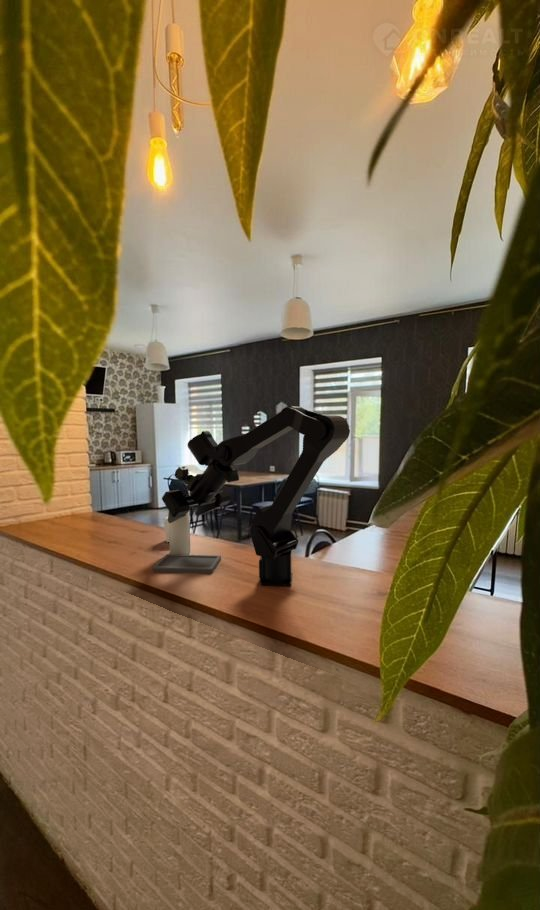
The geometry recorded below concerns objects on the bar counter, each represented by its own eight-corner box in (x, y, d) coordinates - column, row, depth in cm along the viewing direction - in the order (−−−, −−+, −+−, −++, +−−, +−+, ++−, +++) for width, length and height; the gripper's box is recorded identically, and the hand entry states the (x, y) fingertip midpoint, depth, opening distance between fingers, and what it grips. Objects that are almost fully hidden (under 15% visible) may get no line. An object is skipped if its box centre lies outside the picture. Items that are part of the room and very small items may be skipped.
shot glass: (190, 537, 121) (190, 514, 120) (183, 543, 114) (183, 519, 113) (168, 536, 122) (168, 513, 121) (160, 543, 115) (159, 519, 114)
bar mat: (221, 559, 100) (220, 555, 100) (212, 573, 91) (212, 568, 91) (166, 558, 102) (166, 554, 101) (152, 571, 93) (152, 567, 93)
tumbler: (193, 550, 108) (191, 500, 107) (187, 556, 103) (185, 504, 102) (173, 549, 109) (171, 500, 108) (166, 556, 103) (164, 504, 102)
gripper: (222, 452, 107) (194, 489, 114) (165, 457, 92) (138, 499, 100) (244, 484, 103) (214, 520, 110) (190, 495, 88) (159, 536, 96)
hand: (183, 518), depth 104 cm, fingers open, 9 cm apart
